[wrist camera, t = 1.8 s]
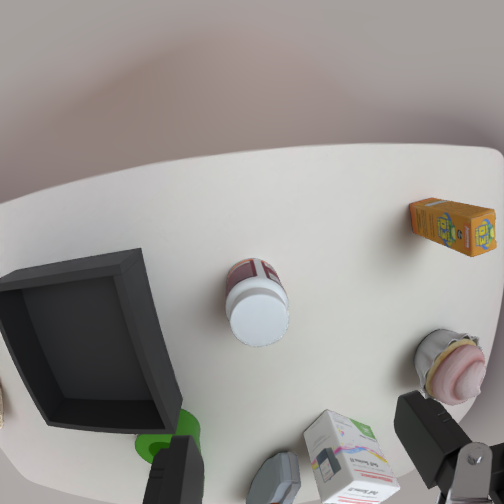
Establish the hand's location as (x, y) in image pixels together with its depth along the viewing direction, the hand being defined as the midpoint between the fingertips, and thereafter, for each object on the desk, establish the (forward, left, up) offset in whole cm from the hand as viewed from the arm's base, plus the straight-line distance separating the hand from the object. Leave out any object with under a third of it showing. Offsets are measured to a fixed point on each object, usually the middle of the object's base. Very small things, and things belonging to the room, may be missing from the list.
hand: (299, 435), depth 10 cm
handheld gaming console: (+29, -3, -19) cm, 35 cm away
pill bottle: (0, -1, -19) cm, 19 cm away
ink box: (+22, +7, -19) cm, 30 cm away
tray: (+4, -19, -19) cm, 27 cm away
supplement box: (-4, +17, -19) cm, 26 cm away
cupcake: (+13, +20, -19) cm, 31 cm away
